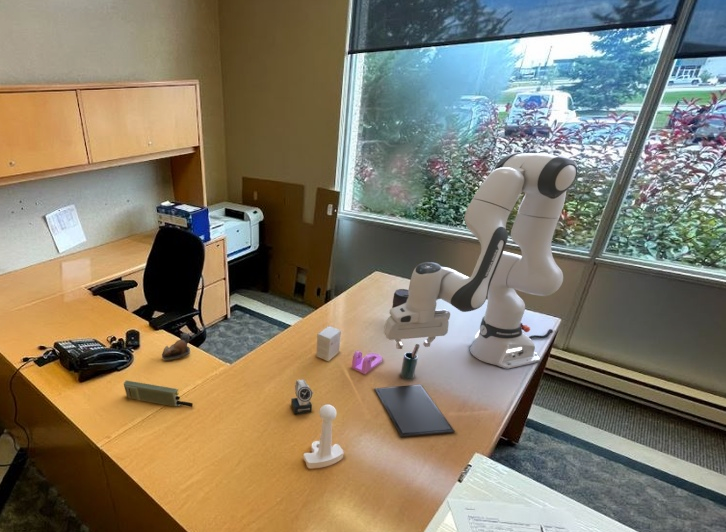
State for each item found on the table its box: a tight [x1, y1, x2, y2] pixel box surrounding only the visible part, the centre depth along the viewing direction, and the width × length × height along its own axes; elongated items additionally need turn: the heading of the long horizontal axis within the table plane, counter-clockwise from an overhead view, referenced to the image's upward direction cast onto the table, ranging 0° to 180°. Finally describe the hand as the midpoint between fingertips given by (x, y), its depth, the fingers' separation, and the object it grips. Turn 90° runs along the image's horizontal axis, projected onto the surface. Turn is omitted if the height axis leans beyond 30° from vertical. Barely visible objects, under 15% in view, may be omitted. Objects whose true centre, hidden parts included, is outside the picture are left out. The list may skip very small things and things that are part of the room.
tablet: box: [374, 384, 455, 438], centre depth 133 cm, size 16×22×1 cm
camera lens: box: [391, 288, 409, 309], centre depth 175 cm, size 8×8×15 cm
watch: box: [290, 379, 314, 415], centre depth 134 cm, size 6×8×11 cm
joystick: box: [302, 404, 345, 469], centre depth 114 cm, size 11×8×20 cm
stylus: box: [410, 343, 421, 359], centre depth 143 cm, size 1×1×15 cm
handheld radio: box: [123, 380, 193, 408], centre depth 143 cm, size 7×3×25 cm
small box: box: [315, 325, 342, 362], centre depth 160 cm, size 8×6×10 cm
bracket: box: [351, 350, 383, 375], centre depth 153 cm, size 13×6×7 cm, turn 130°
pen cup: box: [400, 351, 419, 380], centre depth 146 cm, size 4×4×9 cm
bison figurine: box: [161, 332, 191, 361], centre depth 165 cm, size 12×7×10 cm, turn 106°
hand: (412, 347), depth 142 cm, fingers open, 8 cm apart
